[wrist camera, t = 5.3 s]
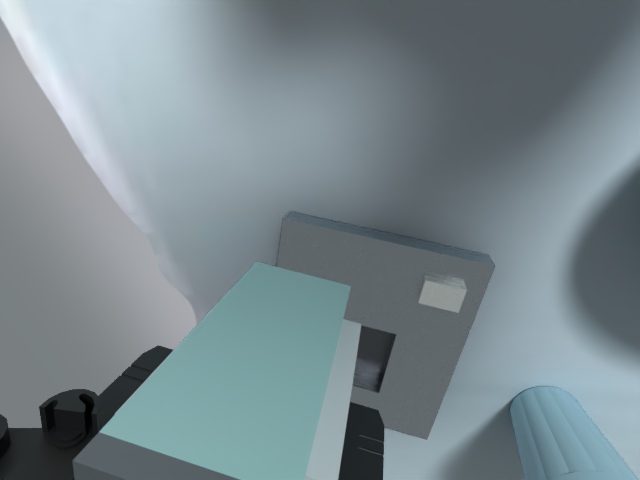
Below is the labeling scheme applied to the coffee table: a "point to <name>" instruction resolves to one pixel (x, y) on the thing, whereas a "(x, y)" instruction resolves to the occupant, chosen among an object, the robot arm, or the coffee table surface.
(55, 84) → the coffee table surface
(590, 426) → the cup
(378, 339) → the socket plate
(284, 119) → the coffee table surface
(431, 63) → the coffee table surface
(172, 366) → the plug
